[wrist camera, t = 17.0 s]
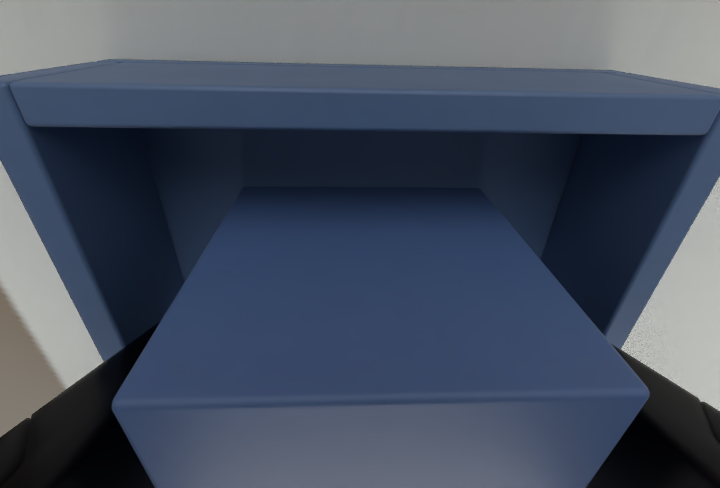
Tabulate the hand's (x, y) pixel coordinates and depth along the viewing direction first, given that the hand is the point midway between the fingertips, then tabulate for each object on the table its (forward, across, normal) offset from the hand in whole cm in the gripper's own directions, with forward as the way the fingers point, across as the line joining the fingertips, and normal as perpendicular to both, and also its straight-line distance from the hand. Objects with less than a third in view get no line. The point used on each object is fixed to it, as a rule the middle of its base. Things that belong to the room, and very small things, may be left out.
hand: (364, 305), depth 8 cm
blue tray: (+1, 0, 0) cm, 1 cm away
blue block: (+1, 0, 0) cm, 1 cm away
